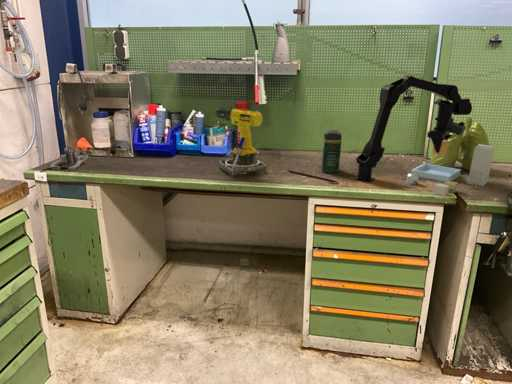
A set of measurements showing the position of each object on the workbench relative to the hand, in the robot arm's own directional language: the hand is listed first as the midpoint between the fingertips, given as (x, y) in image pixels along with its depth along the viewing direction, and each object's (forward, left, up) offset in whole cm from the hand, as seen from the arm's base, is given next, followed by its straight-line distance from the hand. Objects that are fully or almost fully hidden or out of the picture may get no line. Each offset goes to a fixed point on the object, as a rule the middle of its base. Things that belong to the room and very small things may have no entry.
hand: (439, 151), depth 181 cm
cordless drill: (-49, +72, -12) cm, 87 cm away
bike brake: (-100, +132, -12) cm, 167 cm away
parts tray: (+1, +1, -11) cm, 11 cm away
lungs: (+22, -3, -12) cm, 25 cm away
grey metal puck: (-17, +4, -11) cm, 21 cm away
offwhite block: (-23, -9, -11) cm, 27 cm away
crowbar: (-38, +41, -12) cm, 57 cm away
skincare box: (+3, -16, -12) cm, 20 cm away
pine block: (-17, -11, -11) cm, 23 cm away
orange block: (0, 0, -1) cm, 1 cm away
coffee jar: (-23, +40, -12) cm, 47 cm away
